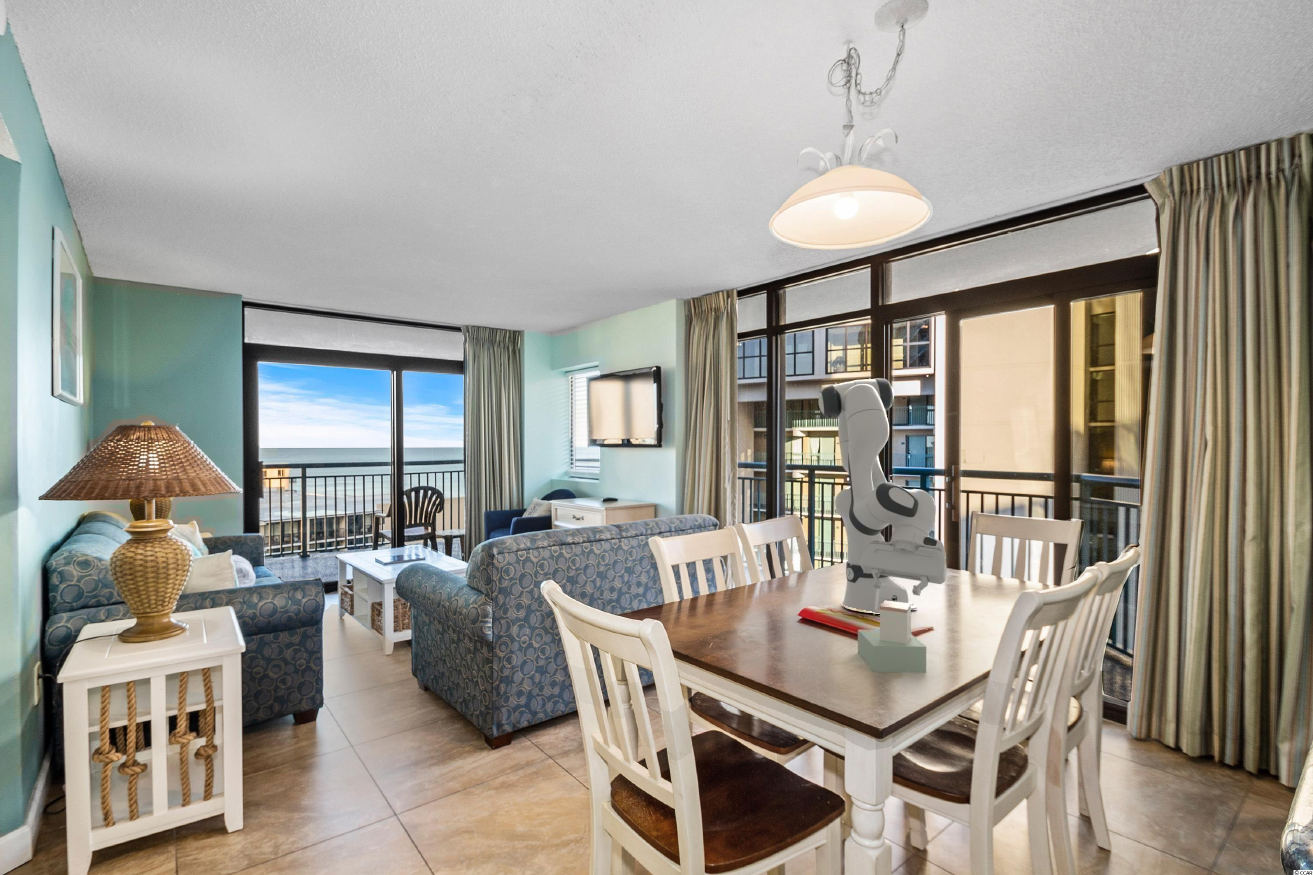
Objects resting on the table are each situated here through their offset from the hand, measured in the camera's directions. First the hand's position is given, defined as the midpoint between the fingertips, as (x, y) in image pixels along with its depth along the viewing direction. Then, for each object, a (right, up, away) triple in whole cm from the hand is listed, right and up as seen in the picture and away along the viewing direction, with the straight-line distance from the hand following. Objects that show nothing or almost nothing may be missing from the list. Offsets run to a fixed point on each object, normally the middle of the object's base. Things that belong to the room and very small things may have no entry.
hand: (895, 590), depth 152 cm
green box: (-3, -16, -4) cm, 17 cm away
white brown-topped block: (-2, -10, -4) cm, 11 cm away
